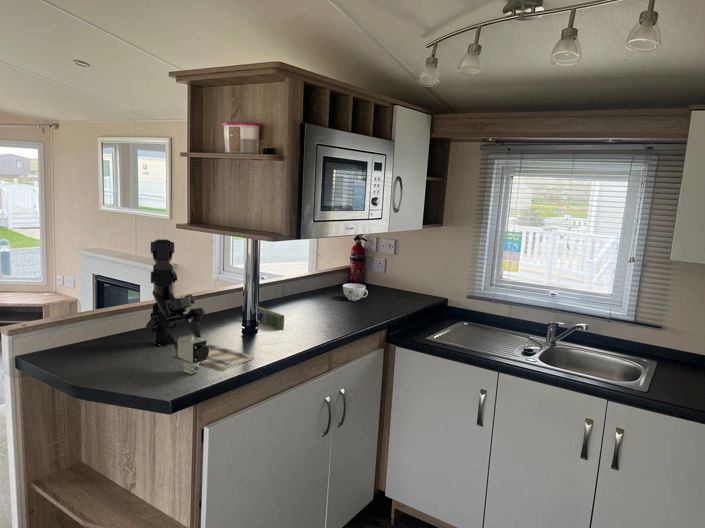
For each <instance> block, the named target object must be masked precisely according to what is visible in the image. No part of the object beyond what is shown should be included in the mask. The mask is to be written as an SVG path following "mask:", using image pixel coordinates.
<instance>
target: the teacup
mask: <svg viewBox="0 0 705 528" xmlns="http://www.w3.org/2000/svg"><path fill="white" fill-rule="evenodd" d="M342 290H343V294H344V296H345V297H346V298H347V300H349V301H351V300H352V302H353V301H354V302H357V300H358V301H359V300H360V299H363V298H366V297H367V296H368V294H369V293H368V290H367V289H366V285H365V284H361V283H351V282H350V283H344V284H343V285H342ZM364 294H365V295H364Z"/></svg>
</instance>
